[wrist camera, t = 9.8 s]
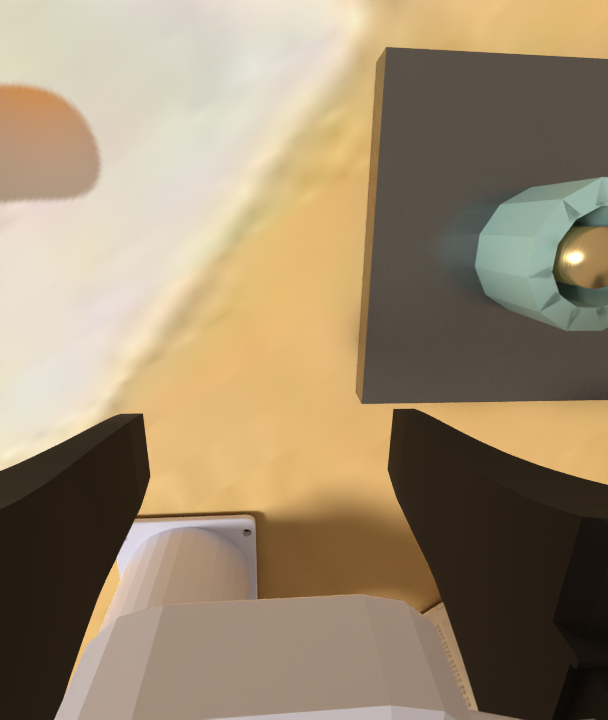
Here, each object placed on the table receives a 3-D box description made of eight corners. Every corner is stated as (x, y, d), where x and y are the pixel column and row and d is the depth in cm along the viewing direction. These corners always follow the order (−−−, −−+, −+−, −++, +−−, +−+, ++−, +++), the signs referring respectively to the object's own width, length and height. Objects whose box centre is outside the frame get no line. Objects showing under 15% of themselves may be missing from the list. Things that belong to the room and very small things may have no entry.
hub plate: (616, 388, 23) (718, 437, 18) (355, 392, 22) (382, 444, 16) (705, 78, 18) (881, 19, 13) (376, 62, 17) (423, -11, 12)
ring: (604, 274, 19) (686, 286, 15) (499, 329, 20) (554, 355, 16) (573, 163, 17) (657, 146, 14) (459, 227, 18) (509, 228, 14)
